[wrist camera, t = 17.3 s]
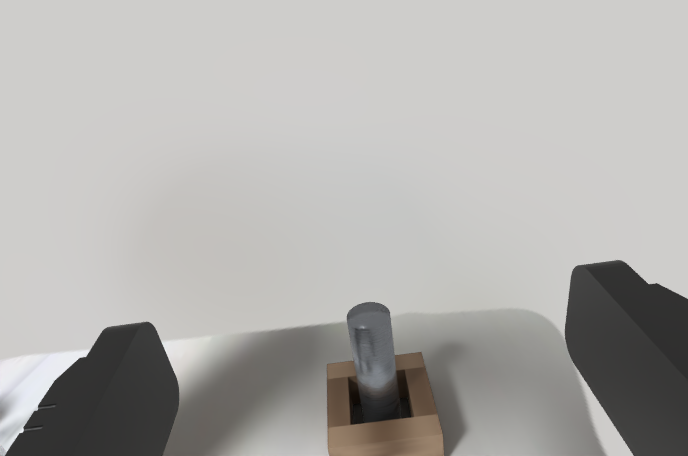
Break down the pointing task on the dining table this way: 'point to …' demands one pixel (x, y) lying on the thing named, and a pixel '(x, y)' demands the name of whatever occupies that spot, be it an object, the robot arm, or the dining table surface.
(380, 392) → the rod
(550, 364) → the dining table surface
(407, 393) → the wooden square socket block
